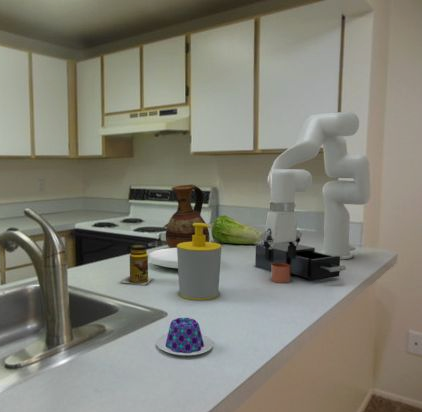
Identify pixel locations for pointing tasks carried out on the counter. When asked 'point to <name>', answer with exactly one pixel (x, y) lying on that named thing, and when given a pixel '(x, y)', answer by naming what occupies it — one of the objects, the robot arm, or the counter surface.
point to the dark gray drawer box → (276, 254)
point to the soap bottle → (199, 266)
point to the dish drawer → (315, 265)
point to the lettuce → (233, 232)
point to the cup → (280, 272)
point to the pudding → (184, 338)
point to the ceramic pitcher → (185, 216)
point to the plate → (164, 257)
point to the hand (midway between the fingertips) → (280, 259)
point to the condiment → (138, 266)
